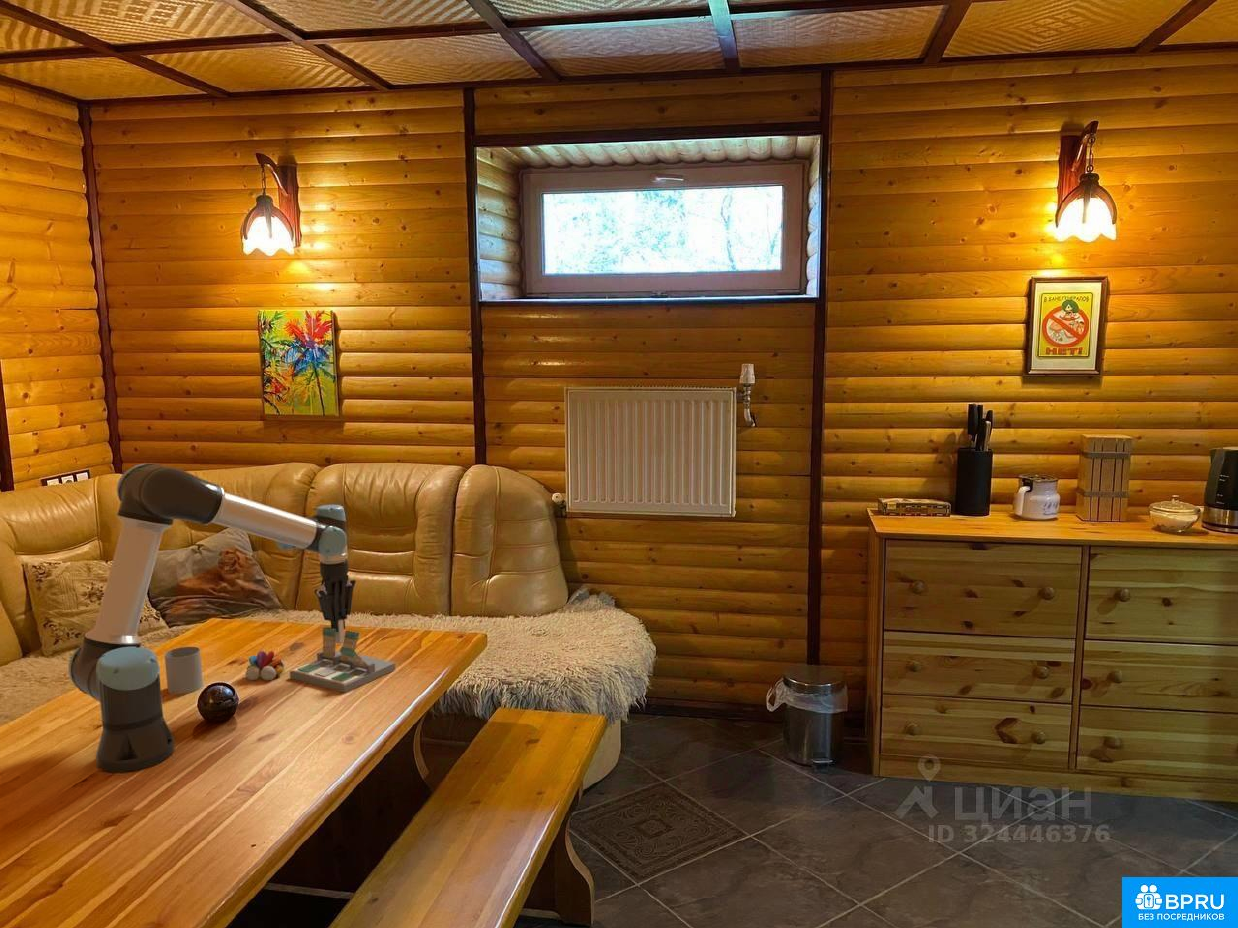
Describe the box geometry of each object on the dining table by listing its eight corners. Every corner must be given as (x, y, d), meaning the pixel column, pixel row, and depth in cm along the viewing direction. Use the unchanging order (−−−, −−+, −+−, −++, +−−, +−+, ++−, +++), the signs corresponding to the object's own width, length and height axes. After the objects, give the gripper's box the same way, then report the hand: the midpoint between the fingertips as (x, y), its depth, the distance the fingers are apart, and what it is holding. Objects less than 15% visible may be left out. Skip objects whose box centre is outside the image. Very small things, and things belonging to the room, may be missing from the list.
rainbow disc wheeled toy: (276, 682, 234) (274, 656, 233) (241, 682, 234) (239, 656, 233) (289, 670, 242) (287, 645, 241) (254, 670, 243) (252, 645, 242)
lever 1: (332, 661, 241) (333, 630, 240) (321, 659, 243) (321, 627, 243) (336, 660, 242) (337, 629, 242) (325, 657, 244) (325, 626, 244)
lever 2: (348, 665, 238) (356, 632, 239) (337, 662, 240) (345, 630, 242) (352, 665, 239) (360, 632, 241) (341, 662, 241) (348, 630, 243)
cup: (209, 682, 234) (206, 646, 233) (191, 694, 226) (188, 658, 225) (179, 681, 235) (176, 646, 234) (160, 694, 227) (157, 657, 226)
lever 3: (368, 671, 235) (350, 653, 229) (356, 668, 237) (338, 650, 231) (370, 666, 236) (353, 649, 230) (359, 663, 238) (341, 646, 232)
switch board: (345, 692, 226) (344, 677, 225) (290, 678, 237) (289, 663, 236) (395, 669, 241) (394, 655, 241) (341, 656, 252) (340, 642, 251)
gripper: (324, 567, 235) (330, 651, 238) (361, 556, 246) (366, 637, 249) (305, 564, 238) (311, 647, 242) (342, 553, 249) (347, 632, 253)
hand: (339, 641), depth 246 cm, fingers closed
